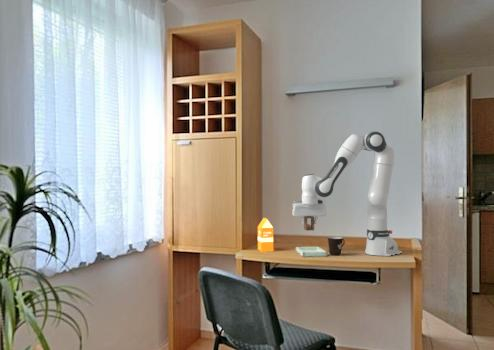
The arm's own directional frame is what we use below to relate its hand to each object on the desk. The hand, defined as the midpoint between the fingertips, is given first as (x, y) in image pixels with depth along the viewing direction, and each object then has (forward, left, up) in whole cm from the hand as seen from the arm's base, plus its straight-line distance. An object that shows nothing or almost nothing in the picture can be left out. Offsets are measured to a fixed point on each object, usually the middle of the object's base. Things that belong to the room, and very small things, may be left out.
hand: (309, 223), depth 255 cm
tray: (+2, +4, -17) cm, 18 cm away
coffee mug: (-9, +15, -17) cm, 25 cm away
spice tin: (0, 0, -4) cm, 4 cm away
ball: (0, -1, -2) cm, 2 cm away
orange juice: (+19, -19, -17) cm, 32 cm away
